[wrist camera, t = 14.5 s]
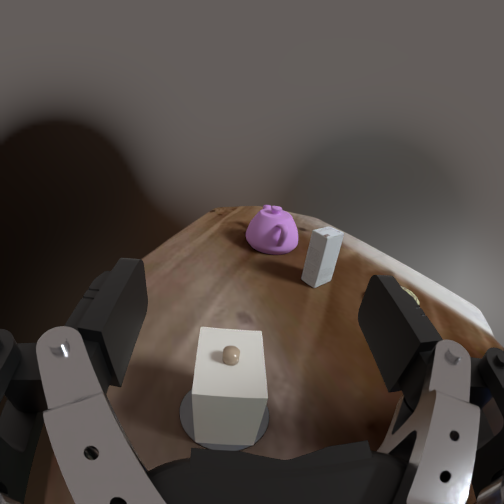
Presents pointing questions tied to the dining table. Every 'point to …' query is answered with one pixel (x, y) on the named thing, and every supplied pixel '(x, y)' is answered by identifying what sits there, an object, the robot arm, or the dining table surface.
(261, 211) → the teapot
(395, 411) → the robot arm
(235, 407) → the ceramic cover
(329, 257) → the skincare box
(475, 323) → the dining table surface
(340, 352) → the dining table surface
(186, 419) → the slate coaster
